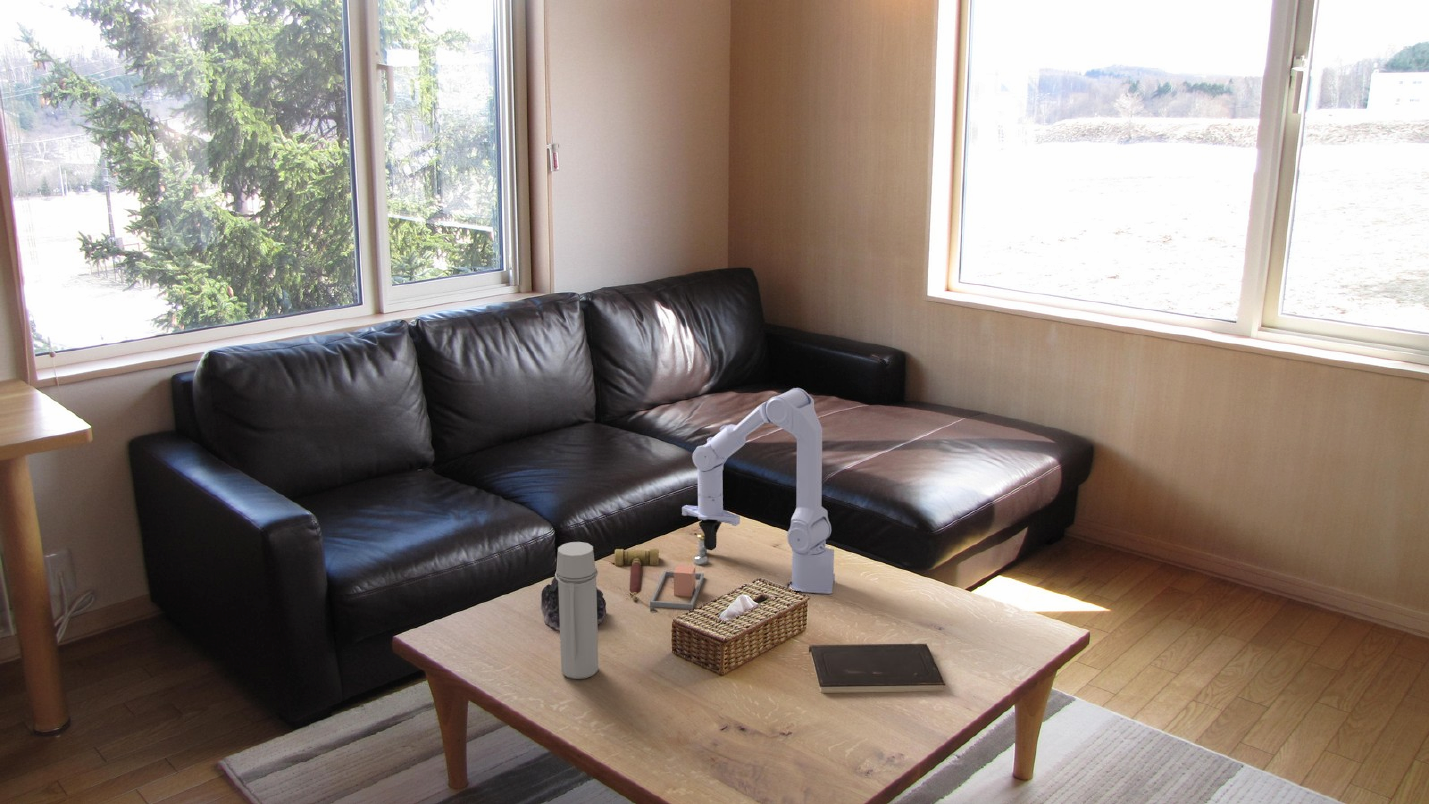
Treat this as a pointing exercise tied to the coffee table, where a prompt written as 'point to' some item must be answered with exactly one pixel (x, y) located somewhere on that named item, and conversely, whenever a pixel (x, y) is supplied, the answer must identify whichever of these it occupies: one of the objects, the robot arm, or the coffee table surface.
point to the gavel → (636, 565)
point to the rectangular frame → (673, 604)
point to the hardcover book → (875, 668)
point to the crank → (701, 551)
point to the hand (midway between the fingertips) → (710, 548)
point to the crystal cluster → (552, 605)
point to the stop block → (684, 580)
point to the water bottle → (577, 609)
